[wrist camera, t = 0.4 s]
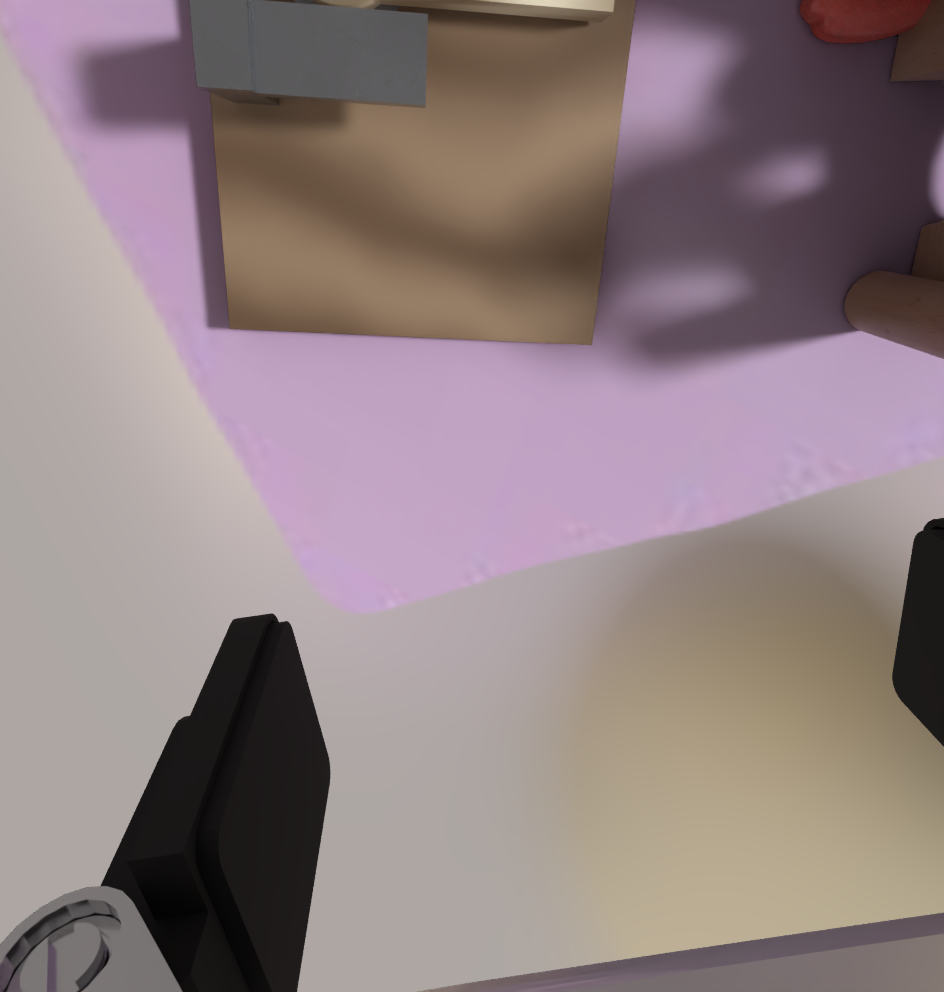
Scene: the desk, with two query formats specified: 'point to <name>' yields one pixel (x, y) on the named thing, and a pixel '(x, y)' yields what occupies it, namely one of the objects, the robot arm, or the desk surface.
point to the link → (500, 7)
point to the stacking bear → (861, 18)
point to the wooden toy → (940, 252)
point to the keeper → (309, 53)
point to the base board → (434, 190)
